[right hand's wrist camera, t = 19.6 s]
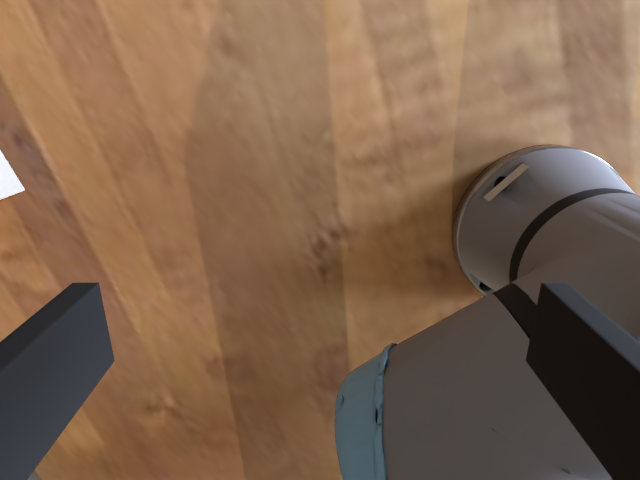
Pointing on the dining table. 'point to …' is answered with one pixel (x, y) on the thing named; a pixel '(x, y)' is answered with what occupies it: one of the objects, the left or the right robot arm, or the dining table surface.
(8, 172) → the cream block
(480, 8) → the dining table surface
